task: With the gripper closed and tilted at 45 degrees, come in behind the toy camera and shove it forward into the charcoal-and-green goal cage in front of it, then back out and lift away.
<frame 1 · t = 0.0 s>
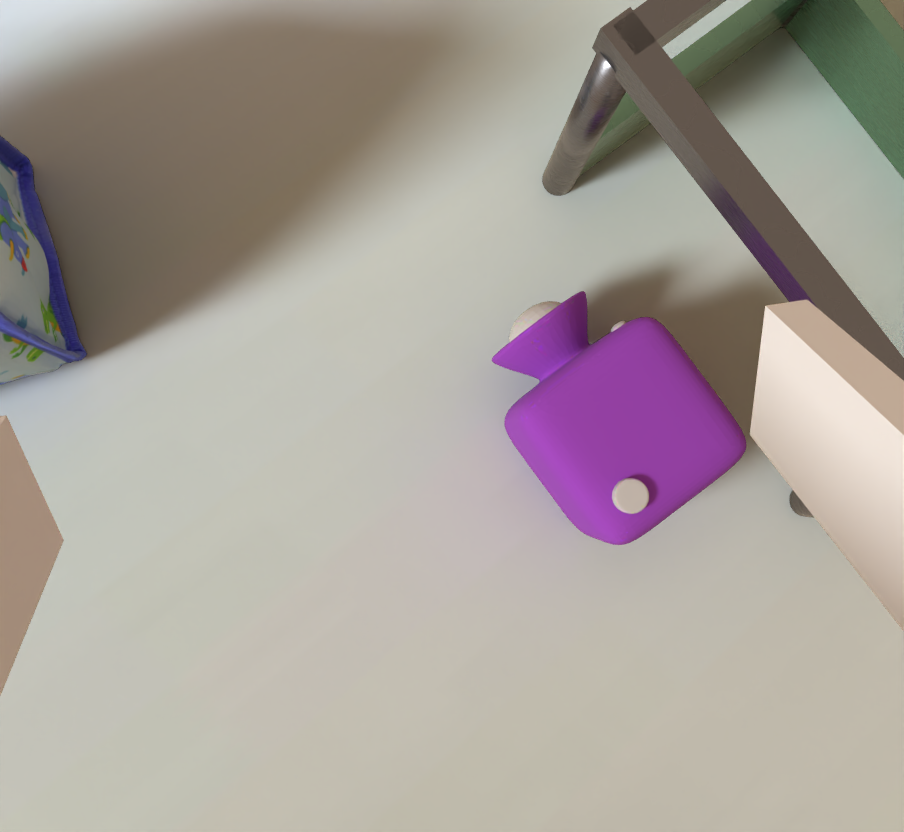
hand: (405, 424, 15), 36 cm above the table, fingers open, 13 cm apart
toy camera: (579, 416, 51), on the table
goal cage: (791, 254, 52), on the table
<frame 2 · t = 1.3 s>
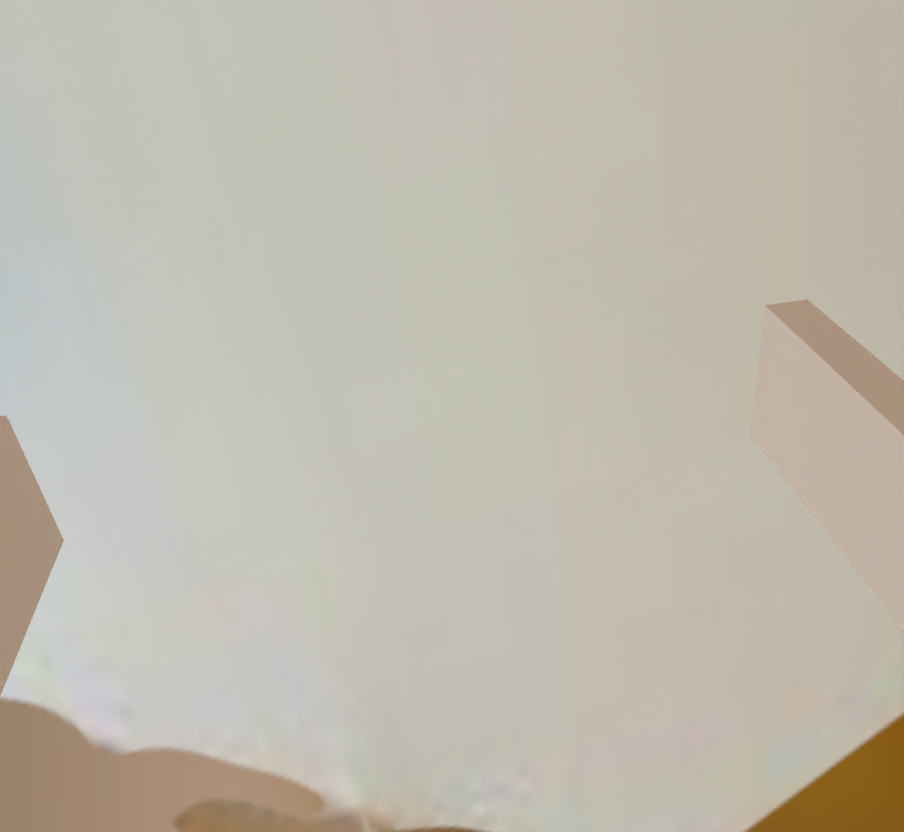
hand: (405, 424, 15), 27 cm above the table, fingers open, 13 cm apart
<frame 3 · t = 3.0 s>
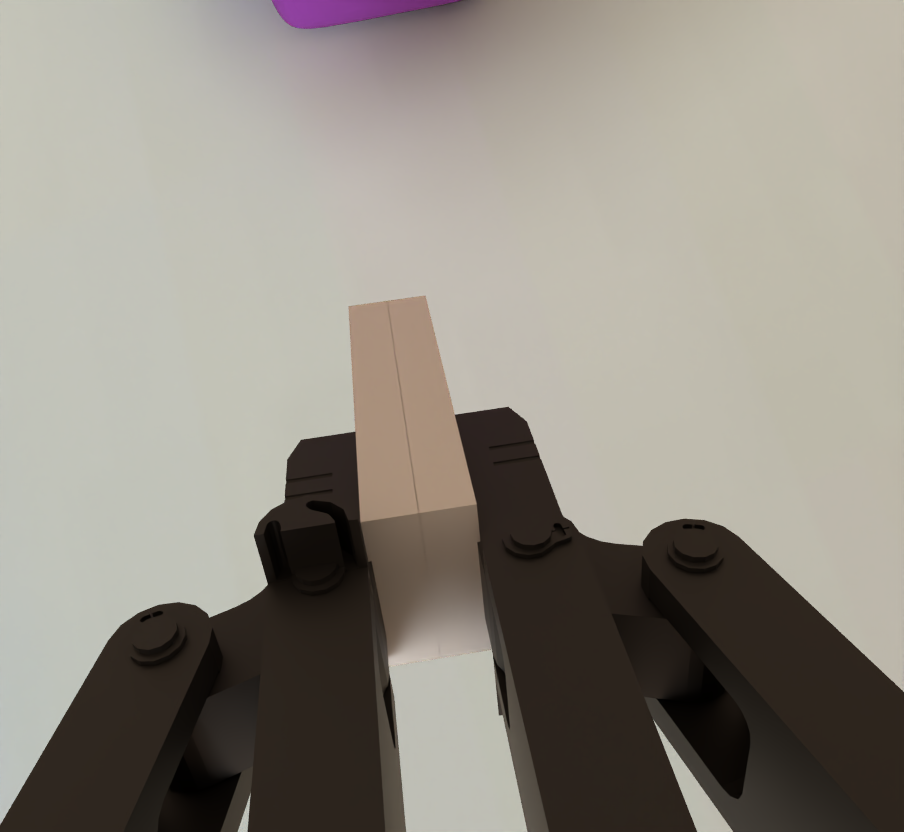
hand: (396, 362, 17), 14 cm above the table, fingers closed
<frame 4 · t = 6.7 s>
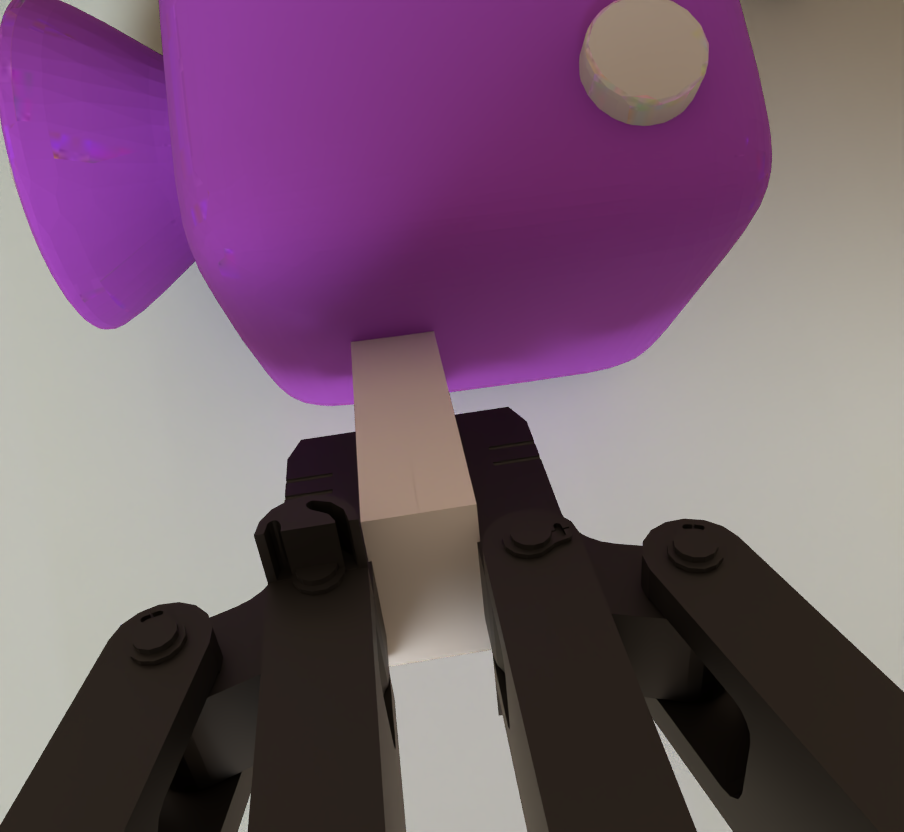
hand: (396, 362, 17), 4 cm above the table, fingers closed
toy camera: (384, 247, 22), on the table, touching gripper
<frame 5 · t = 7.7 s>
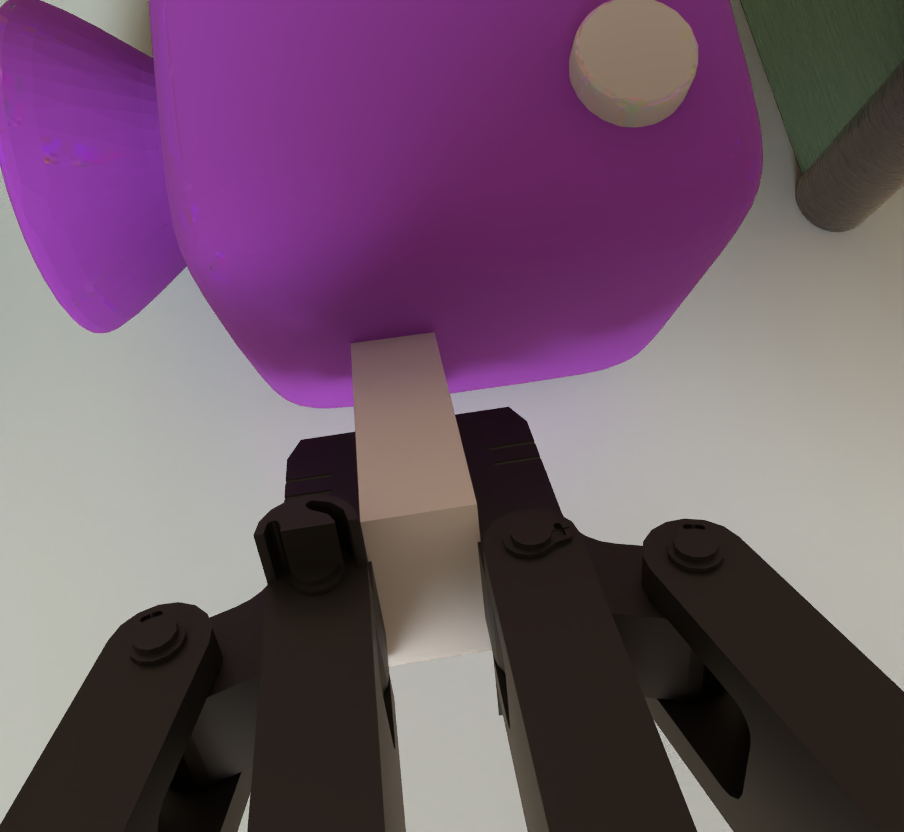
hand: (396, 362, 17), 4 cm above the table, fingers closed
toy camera: (378, 249, 22), on the table, touching gripper
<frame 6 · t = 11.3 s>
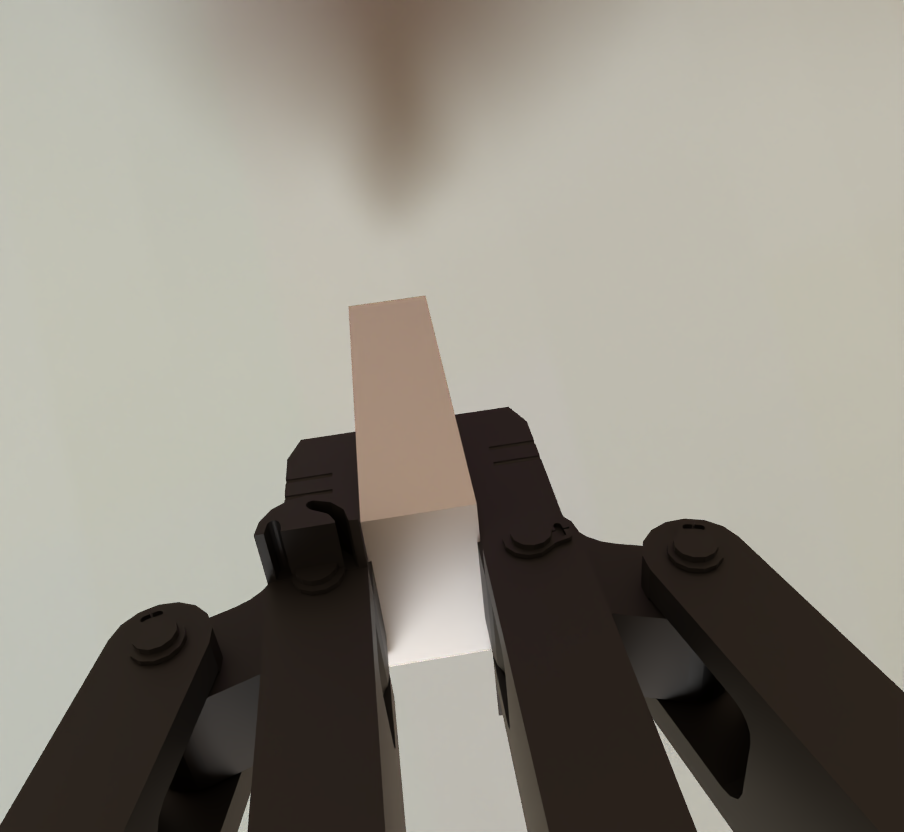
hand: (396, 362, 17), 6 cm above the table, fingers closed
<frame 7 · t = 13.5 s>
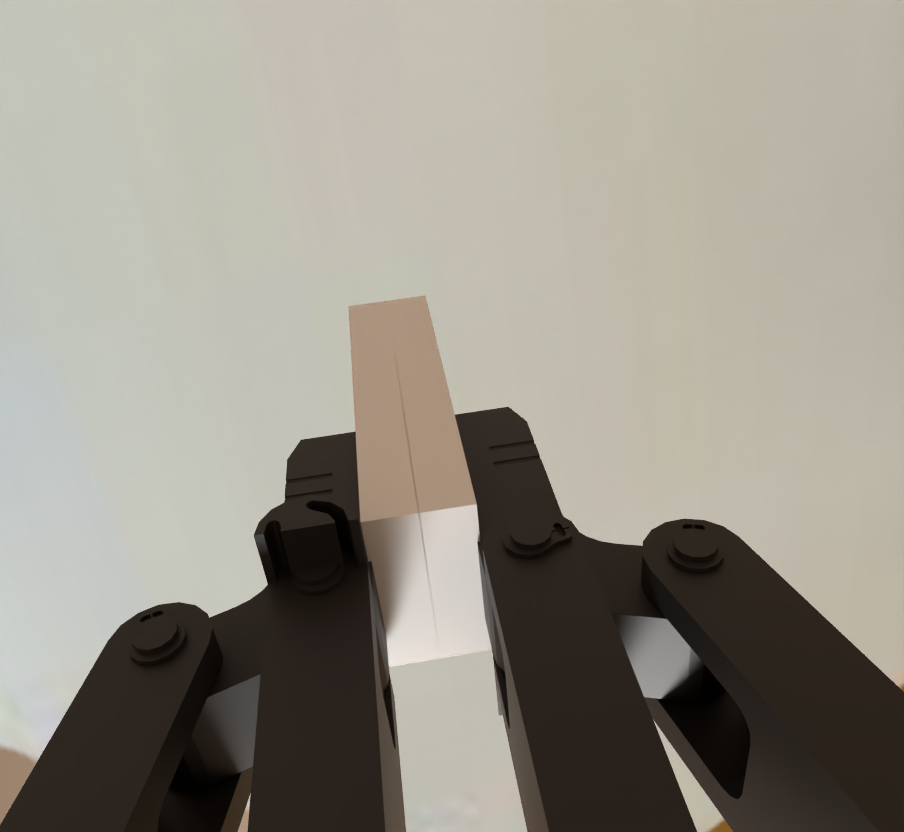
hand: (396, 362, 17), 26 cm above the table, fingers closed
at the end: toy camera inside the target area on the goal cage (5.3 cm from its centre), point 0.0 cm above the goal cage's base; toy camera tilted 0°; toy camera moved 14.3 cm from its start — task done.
